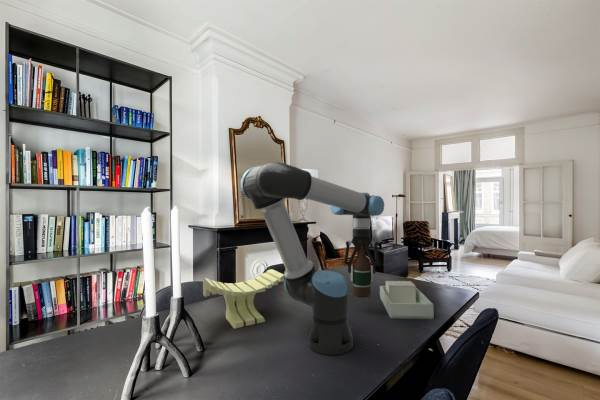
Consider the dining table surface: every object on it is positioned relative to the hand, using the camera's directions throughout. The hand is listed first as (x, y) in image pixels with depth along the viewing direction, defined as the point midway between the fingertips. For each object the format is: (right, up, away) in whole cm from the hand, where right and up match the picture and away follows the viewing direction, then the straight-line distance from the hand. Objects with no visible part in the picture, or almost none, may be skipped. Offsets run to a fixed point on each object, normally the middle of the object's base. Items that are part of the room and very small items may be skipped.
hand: (361, 280), depth 127 cm
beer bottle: (0, -6, 0) cm, 7 cm away
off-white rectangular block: (+21, -13, +12) cm, 27 cm away
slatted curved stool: (-50, -15, -5) cm, 53 cm away
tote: (+20, -14, +5) cm, 25 cm away
